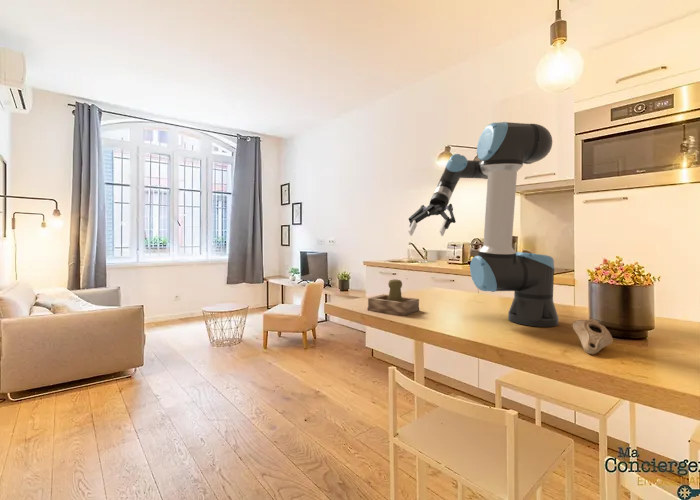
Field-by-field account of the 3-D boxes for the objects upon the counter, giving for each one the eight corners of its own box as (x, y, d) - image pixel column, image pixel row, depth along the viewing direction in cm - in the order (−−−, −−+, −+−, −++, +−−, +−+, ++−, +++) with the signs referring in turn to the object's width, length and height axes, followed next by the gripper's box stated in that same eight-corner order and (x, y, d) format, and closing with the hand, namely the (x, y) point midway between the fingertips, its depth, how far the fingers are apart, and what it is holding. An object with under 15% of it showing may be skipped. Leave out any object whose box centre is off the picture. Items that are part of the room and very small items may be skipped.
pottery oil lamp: (567, 351, 89) (568, 324, 88) (573, 340, 98) (574, 315, 98) (610, 359, 83) (611, 330, 83) (613, 347, 93) (614, 320, 92)
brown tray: (419, 310, 136) (419, 298, 135) (404, 316, 126) (404, 303, 126) (383, 305, 145) (383, 294, 145) (367, 310, 136) (367, 298, 135)
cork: (392, 305, 139) (392, 278, 138) (405, 307, 135) (406, 279, 134) (384, 308, 134) (384, 279, 133) (397, 310, 130) (398, 281, 130)
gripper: (471, 204, 148) (457, 240, 137) (417, 206, 163) (401, 239, 152) (467, 190, 144) (453, 226, 133) (412, 194, 159) (395, 226, 147)
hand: (425, 233), depth 142 cm, fingers open, 13 cm apart
